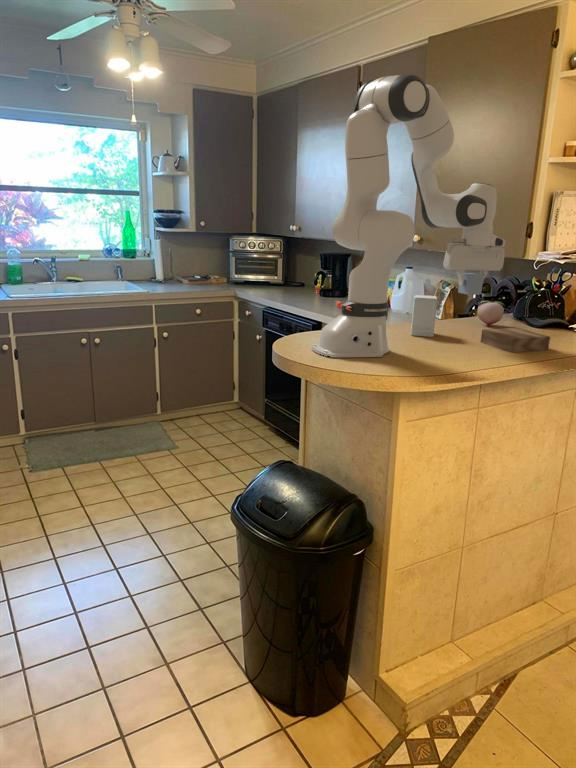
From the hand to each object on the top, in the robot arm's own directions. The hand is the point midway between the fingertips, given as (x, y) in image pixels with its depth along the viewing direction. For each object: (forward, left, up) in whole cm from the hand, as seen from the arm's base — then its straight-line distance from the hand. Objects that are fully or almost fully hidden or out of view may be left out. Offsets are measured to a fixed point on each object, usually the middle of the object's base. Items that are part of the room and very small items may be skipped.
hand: (470, 285), depth 180 cm
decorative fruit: (+25, +19, -18) cm, 36 cm away
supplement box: (-9, +11, -18) cm, 23 cm away
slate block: (0, 0, -3) cm, 3 cm away
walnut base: (+10, -11, -18) cm, 23 cm away
